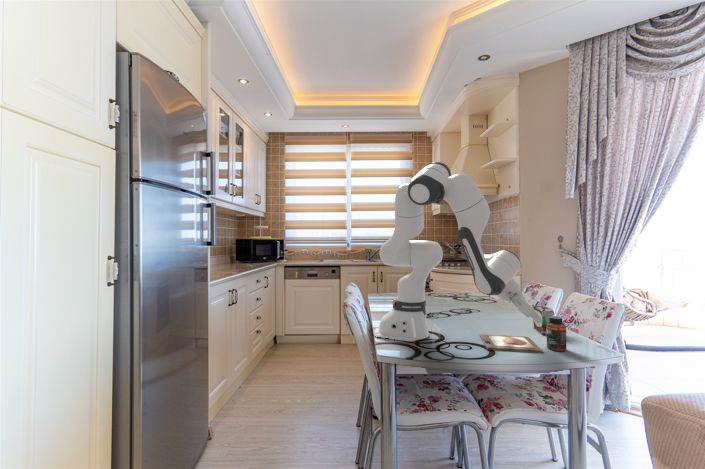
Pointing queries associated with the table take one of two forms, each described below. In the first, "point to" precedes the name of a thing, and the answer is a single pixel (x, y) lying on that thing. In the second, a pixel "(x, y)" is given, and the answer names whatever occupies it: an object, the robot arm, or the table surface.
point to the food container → (544, 315)
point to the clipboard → (510, 343)
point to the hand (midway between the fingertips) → (538, 319)
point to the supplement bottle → (556, 334)
